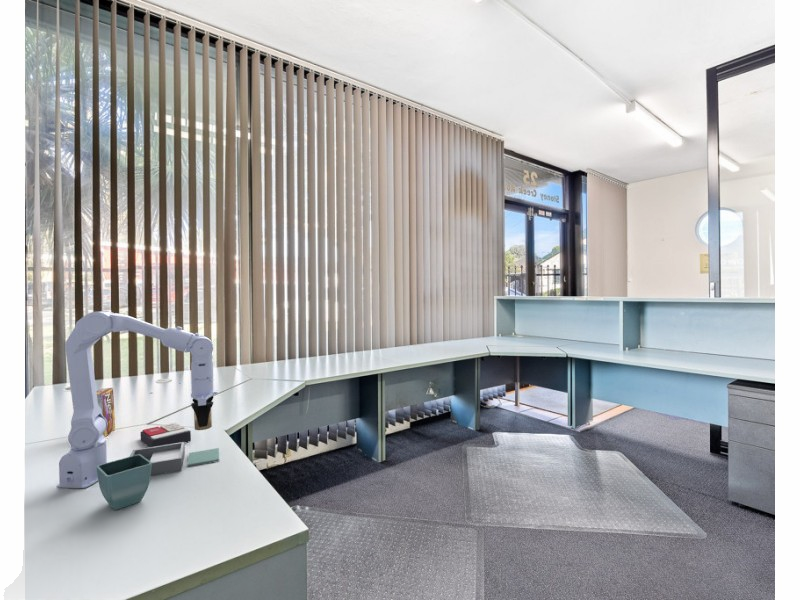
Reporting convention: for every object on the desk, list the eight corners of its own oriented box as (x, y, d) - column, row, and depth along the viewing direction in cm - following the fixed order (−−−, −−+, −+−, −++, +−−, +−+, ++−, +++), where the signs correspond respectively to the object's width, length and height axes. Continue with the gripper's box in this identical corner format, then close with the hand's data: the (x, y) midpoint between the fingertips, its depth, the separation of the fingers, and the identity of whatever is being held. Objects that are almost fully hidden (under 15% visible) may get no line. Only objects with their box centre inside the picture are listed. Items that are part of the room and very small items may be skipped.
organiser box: (123, 481, 98) (123, 468, 98) (133, 462, 110) (133, 449, 110) (181, 470, 104) (181, 458, 104) (184, 453, 116) (184, 441, 116)
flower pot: (140, 489, 95) (140, 453, 94) (153, 500, 89) (152, 462, 89) (96, 504, 88) (95, 465, 88) (107, 518, 82) (106, 476, 82)
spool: (206, 430, 110) (205, 409, 110) (191, 430, 110) (190, 409, 110) (214, 424, 114) (214, 405, 114) (200, 424, 115) (199, 405, 115)
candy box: (101, 430, 137) (100, 388, 137) (115, 429, 138) (114, 387, 138) (89, 439, 128) (88, 394, 128) (104, 438, 130) (103, 393, 129)
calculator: (176, 421, 136) (190, 428, 126) (176, 433, 136) (191, 441, 126) (139, 429, 128) (152, 437, 118) (140, 442, 128) (152, 452, 118)
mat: (187, 466, 107) (187, 464, 107) (189, 454, 115) (189, 452, 115) (219, 461, 110) (219, 459, 110) (218, 449, 118) (218, 447, 118)
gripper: (217, 381, 107) (218, 429, 108) (217, 372, 120) (218, 415, 121) (189, 384, 104) (190, 433, 104) (191, 374, 117) (192, 418, 117)
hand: (203, 423), depth 112 cm, fingers closed on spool, 4 cm apart
